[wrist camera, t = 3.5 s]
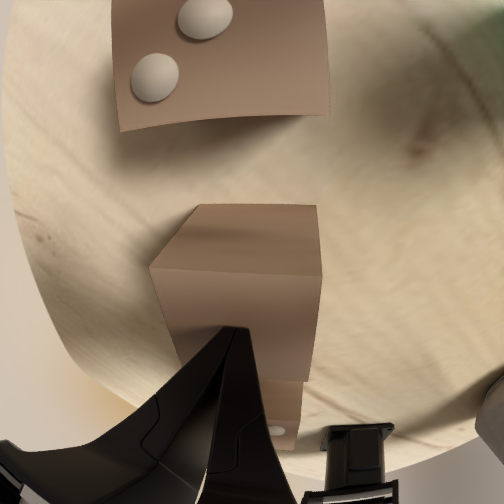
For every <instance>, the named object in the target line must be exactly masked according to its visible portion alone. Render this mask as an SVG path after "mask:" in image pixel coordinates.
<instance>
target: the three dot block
mask: <svg viewBox="0 0 504 504" xmlns="http://www.w3.org/2000/svg"><path fill="white" fill-rule="evenodd" d="M111 28H112V56H113V71H114V83H115V94H116V103H117V111H118V119H119V127H120V133H121V132H126V131H131V130H136V129H141V128H147V127H153V126H159V125H165V124H172V123H179V122H186V121H195V120H204V119H214V118H226V117H240V116H262V115H318V116H330V86H329V63H328V47H327V33H326V22H325V12H324V3H323V0H112V6H111Z"/></svg>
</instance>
